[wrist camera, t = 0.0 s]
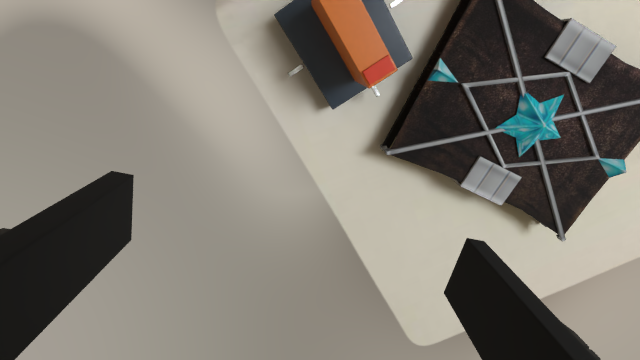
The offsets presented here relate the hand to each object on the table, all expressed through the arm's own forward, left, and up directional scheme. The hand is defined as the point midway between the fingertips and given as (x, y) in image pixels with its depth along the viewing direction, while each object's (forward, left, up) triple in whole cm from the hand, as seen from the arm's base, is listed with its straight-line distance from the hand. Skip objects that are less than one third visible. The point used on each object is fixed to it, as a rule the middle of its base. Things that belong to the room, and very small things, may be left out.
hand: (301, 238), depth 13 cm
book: (-6, +19, -21) cm, 29 cm away
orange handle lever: (-9, +2, -18) cm, 20 cm away
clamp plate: (-9, +2, -21) cm, 23 cm away
